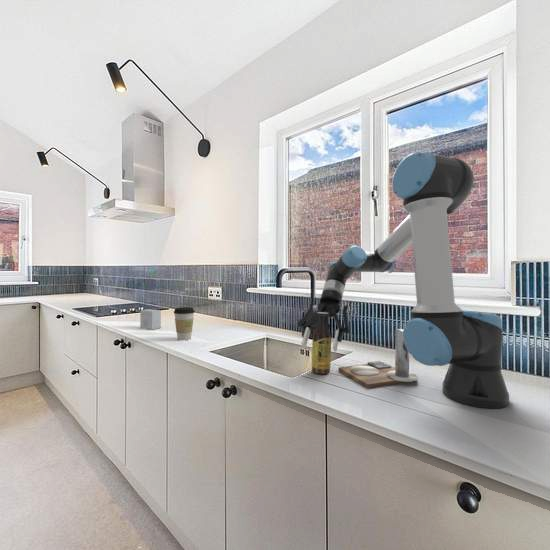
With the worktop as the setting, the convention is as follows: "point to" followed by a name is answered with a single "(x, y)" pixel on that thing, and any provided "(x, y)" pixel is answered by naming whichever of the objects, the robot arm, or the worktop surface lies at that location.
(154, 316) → the skincare box
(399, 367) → the peg
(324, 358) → the sauce bottle
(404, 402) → the worktop surface
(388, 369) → the board
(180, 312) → the coffee cup
